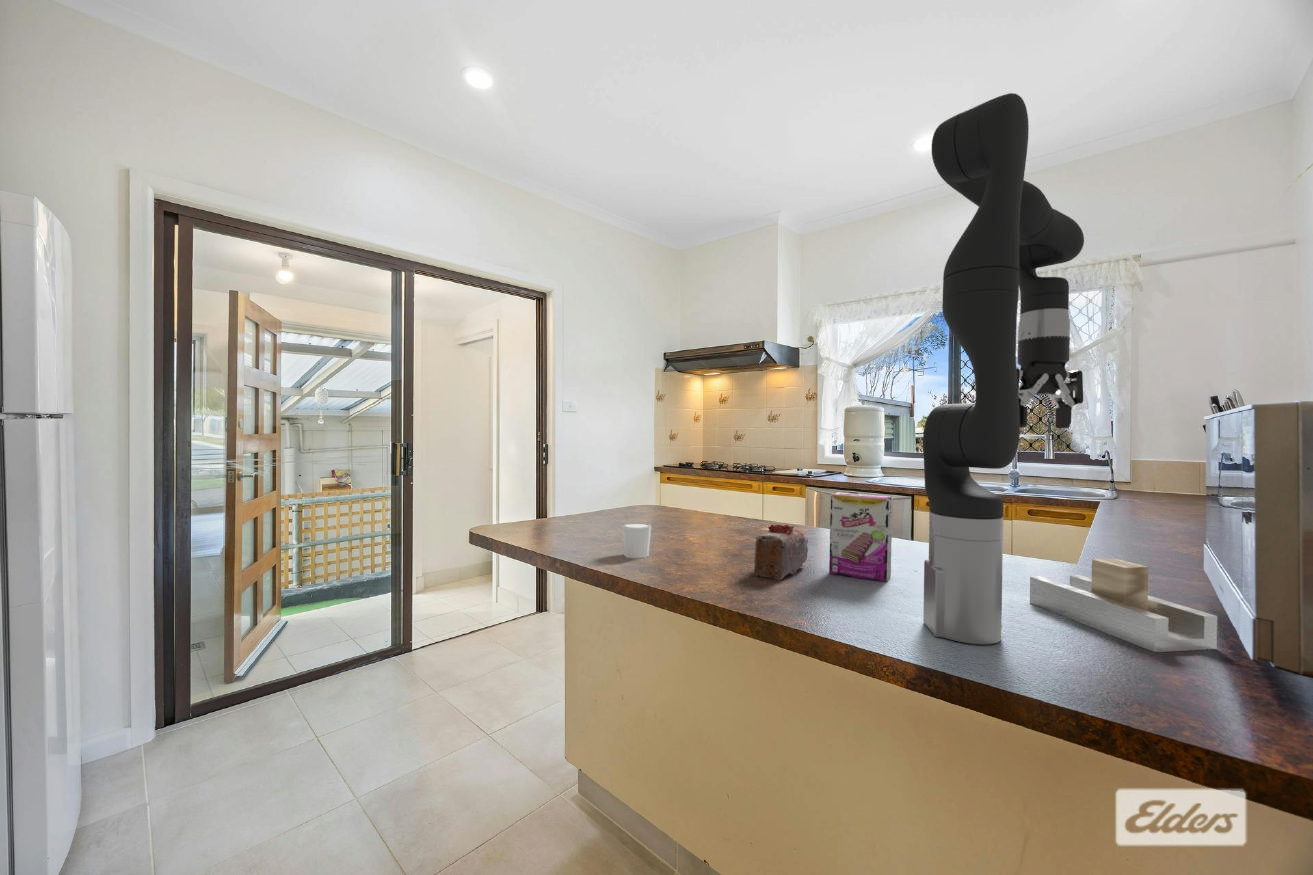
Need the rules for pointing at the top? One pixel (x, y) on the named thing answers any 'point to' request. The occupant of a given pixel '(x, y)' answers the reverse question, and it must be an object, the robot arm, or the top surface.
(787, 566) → the food item
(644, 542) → the white cylinder
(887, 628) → the top surface
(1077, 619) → the rail
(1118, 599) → the oak block
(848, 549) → the candy bar box
